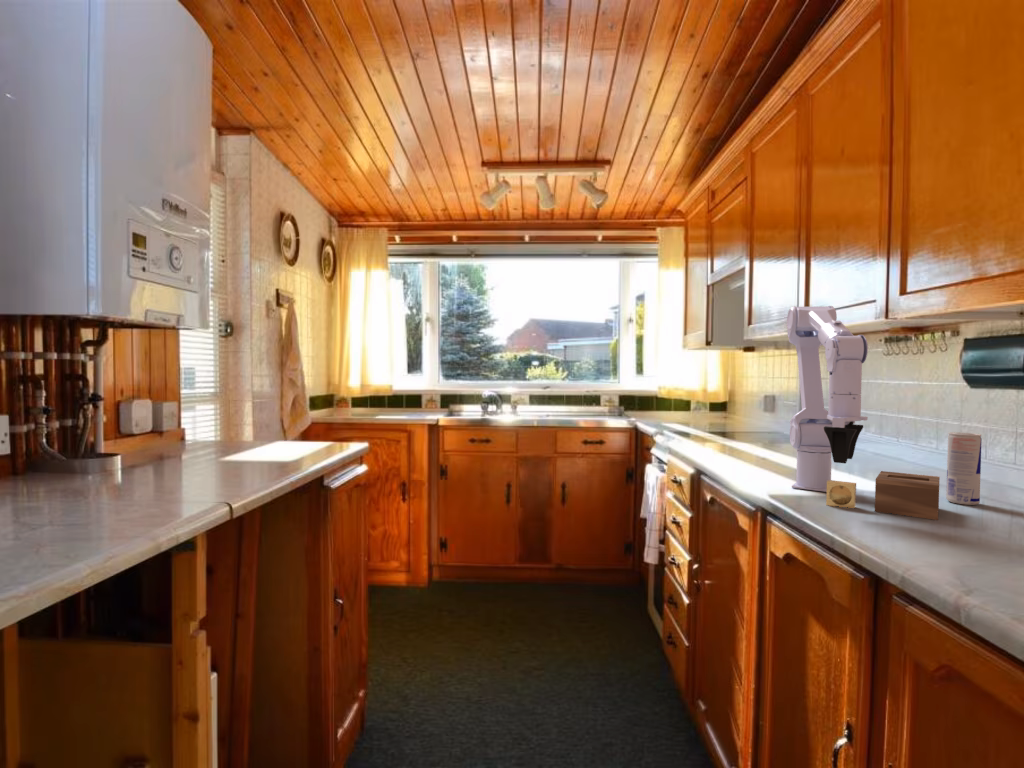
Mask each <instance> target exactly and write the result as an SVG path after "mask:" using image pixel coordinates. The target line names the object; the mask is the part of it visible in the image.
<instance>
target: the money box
mask: <svg viewBox="0 0 1024 768" xmlns="http://www.w3.org/2000/svg"><path fill="white" fill-rule="evenodd" d="M940 477H941V476H938V475H928V474H927V475H925V474H916V473H907V472H906V473H903V472H895V471H886V470H884V471H883V470H880V472H879V474H878V475H877V476H876V477H875V485H874V486H875V487H874V488H875V489H874V492H875V493H874V512H875V511H876V513H882V512H883V513H884V514H889V513H892V514H891V515H896V514H898V515H897V516H904V515H906V516H905V517H911V516H912V517H913V518H920V519H928V520H933V521H938V520H939V512H940V511H939V505H940Z"/></svg>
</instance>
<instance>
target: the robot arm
mask: <svg viewBox="0 0 1024 768" xmlns="http://www.w3.org/2000/svg"><path fill="white" fill-rule="evenodd" d="M786 329H787V330H786V331H787V337H788V343H790V344H791V345H793V346H795V350H796V355H797V365H798V377H799V378H798V379H799V380H798V381H799V389H800V403H801V410H800V411H798V412H797V413H795V414H794V415H793V416H792V417H791V419H790V422H789V443H790V445H791V446H792V447H793V449H795V450H796V479H795V481H796V482H795V483H793V484H792V485H791V488H794V489H800V490H807V491H816V492H824V493H827V481H828V480H832V461H833V463H836V464H847V462H848V460H852V459H853V457H854V454H855V450H856V445H857V442H858V439H859V436H860V434H861V432H862V431H863V429H864V424H856V422H861V421H868V416H862V415H861V414H862V413H861V412H862V407H861V406H862V379H863V378H862V375H863V371H862V370H863V364H864V363H865V362H866V360H867V357H868V353H869V352H868V351H869V350H868V349H869V347H868V346H869V345H868V340H867V338H866V337H865V335H864V334H858V335H854V334H853V333H852V332H851V330H849V329H848V327H846V325H844V323H843V322H842V321H841V320H837V310H836V309H835V307H834V306H833V305H828V306H796V305H793V306H792V305H791V307H790V308H789V309H788V312H787V316H786ZM821 346H823V347H824V349H825V351H824V353H825V360H826V370H827V372H829V374H828V377H829V378H828V410H827V409H825V404H824V393H823V383H822V382H823V381H822V370H821V362H820V353H819V349H820V348H821Z"/></svg>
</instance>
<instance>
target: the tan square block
mask: <svg viewBox="0 0 1024 768" xmlns="http://www.w3.org/2000/svg"><path fill="white" fill-rule="evenodd" d="M825 500H826V501H825V503H826V504H825V505H826V506H827V505H829V506H830V507H835V506H839V507H838V508H842V507H846V508H845V509H849V508H855V509H856V507H857V506H856V505H857V503H856V502H857V482H850V481H842V480H841V481H840V480H833V479H831V480H828V481H827V492H826V499H825ZM855 506H856V507H855ZM847 507H848V508H847Z"/></svg>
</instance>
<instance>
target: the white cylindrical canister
mask: <svg viewBox="0 0 1024 768" xmlns="http://www.w3.org/2000/svg"><path fill="white" fill-rule="evenodd" d="M947 434H948V437H947V459H946V461H947V462H946V463H947V464H946V489H945V490H946V492H945V493H946V494H945V495H946V496H945V497H946V499H945V500H947V501H949V502H951V503H952V504H957V505H962V506H963V505H964V506H976V505H979V504H980V502H981V501H980V500H981V470H982V469H981V468H982V467H981V466H982V434H979V433H973V432H961V431H959V432H958V431H957V432H956V431H952V432H949V431H948V433H947Z"/></svg>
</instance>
